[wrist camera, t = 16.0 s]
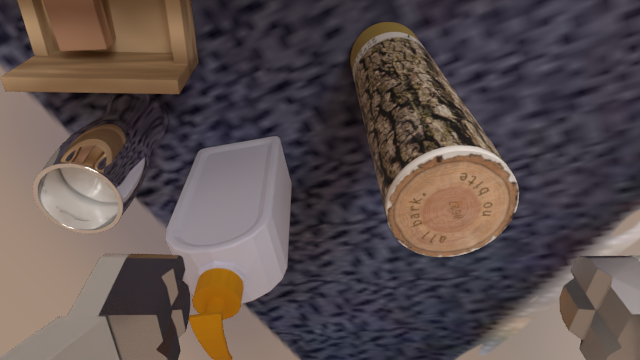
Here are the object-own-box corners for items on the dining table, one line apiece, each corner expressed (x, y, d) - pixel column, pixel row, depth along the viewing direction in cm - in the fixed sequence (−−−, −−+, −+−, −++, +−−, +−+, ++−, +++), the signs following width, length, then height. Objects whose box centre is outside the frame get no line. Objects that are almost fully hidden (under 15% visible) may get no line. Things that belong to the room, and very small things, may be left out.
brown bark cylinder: (362, 98, 47) (407, 271, 26) (339, 36, 44) (368, 178, 23) (427, 74, 46) (528, 235, 25) (408, 8, 43) (506, 130, 22)
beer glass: (133, 70, 45) (66, 143, 33) (186, 121, 48) (144, 205, 36) (89, 112, 47) (10, 195, 35) (142, 157, 50) (88, 249, 38)
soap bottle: (217, 200, 54) (166, 378, 34) (198, 148, 50) (129, 315, 31) (293, 187, 53) (285, 362, 34) (279, 134, 49) (262, 295, 30)
